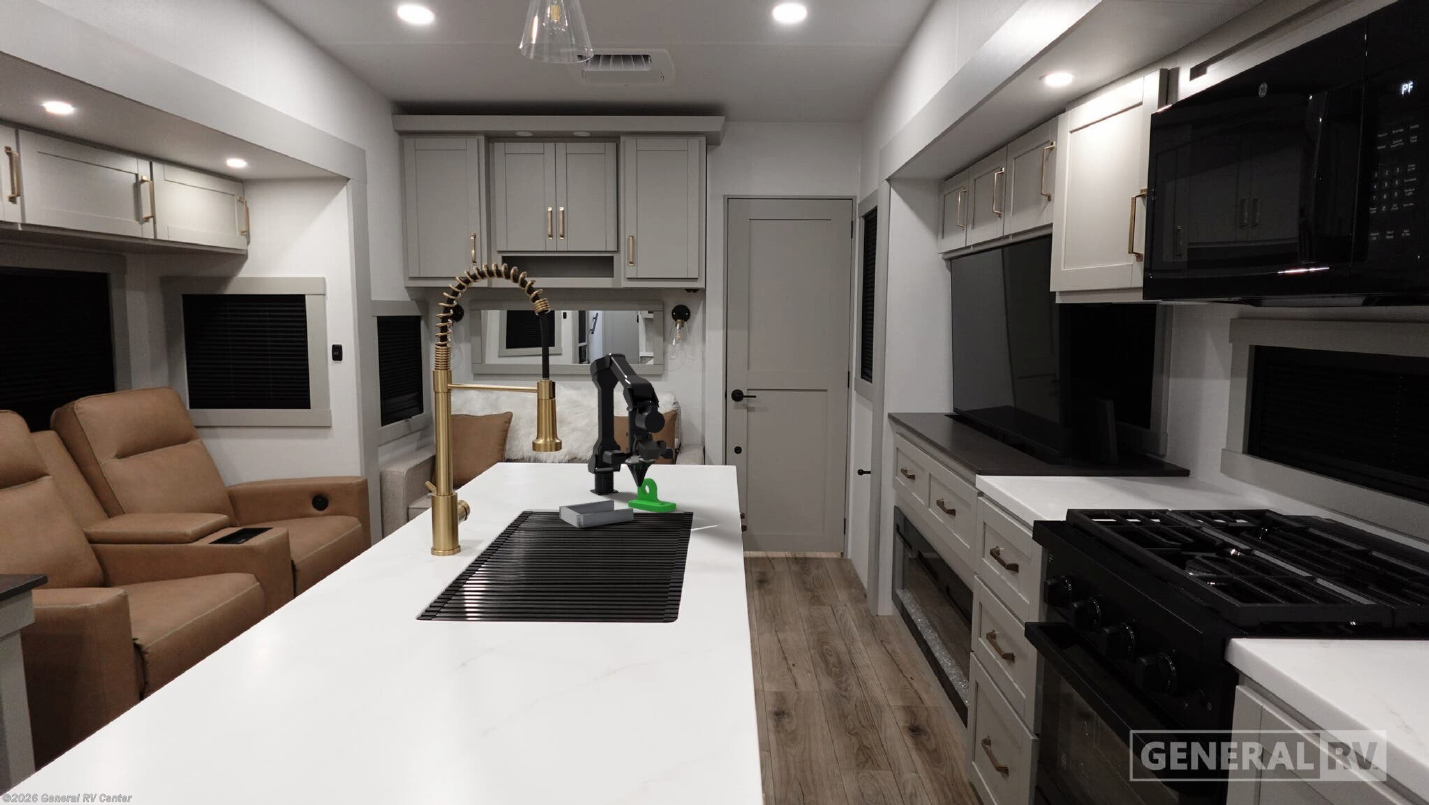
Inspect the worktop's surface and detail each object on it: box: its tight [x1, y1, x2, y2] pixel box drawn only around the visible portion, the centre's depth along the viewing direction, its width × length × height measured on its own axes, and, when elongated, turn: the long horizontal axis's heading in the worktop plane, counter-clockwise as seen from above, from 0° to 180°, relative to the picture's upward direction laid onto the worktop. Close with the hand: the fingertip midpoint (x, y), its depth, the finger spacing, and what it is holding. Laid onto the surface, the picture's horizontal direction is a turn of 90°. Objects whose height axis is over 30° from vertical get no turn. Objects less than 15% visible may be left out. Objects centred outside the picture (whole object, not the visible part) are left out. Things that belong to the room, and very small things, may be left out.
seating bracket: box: [558, 499, 634, 529], centre depth 193 cm, size 12×15×3 cm
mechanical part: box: [627, 477, 677, 513], centre depth 205 cm, size 12×6×8 cm, turn 57°
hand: (639, 486), depth 200 cm, fingers closed
